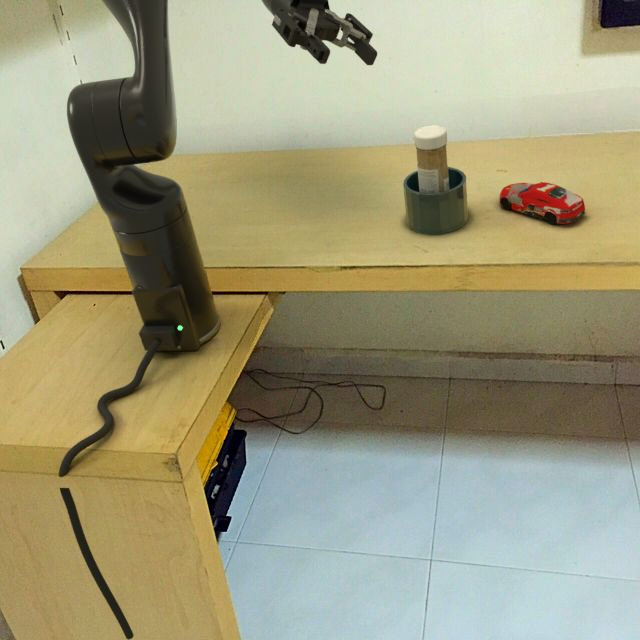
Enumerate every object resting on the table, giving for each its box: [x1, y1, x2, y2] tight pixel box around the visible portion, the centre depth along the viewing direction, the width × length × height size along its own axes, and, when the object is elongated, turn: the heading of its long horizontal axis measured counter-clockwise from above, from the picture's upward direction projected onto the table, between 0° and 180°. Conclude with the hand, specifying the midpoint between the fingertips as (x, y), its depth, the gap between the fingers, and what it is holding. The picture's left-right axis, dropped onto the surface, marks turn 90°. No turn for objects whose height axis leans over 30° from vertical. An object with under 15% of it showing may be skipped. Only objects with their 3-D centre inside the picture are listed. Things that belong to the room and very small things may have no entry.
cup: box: [402, 166, 469, 236], centre depth 111 cm, size 9×9×6 cm
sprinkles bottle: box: [413, 125, 450, 193], centre depth 108 cm, size 5×5×14 cm
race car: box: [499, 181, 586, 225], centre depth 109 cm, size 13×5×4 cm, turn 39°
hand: (350, 58), depth 103 cm, fingers open, 8 cm apart
